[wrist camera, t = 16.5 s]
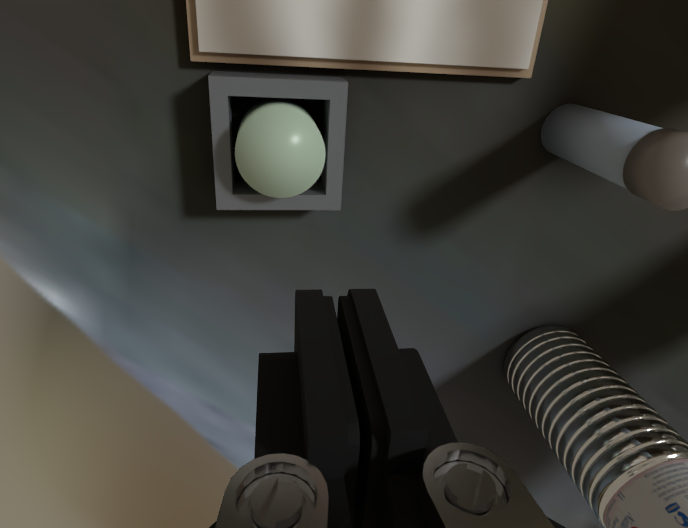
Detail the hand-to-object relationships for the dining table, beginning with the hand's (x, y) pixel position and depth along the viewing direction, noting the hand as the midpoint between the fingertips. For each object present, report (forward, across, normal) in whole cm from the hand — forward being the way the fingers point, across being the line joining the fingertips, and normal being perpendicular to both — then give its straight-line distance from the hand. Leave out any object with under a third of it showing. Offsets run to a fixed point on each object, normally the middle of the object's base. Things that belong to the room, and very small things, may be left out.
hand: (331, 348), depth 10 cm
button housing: (+20, +1, 0) cm, 20 cm away
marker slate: (+21, -17, -1) cm, 27 cm away
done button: (+20, +1, 0) cm, 20 cm away
